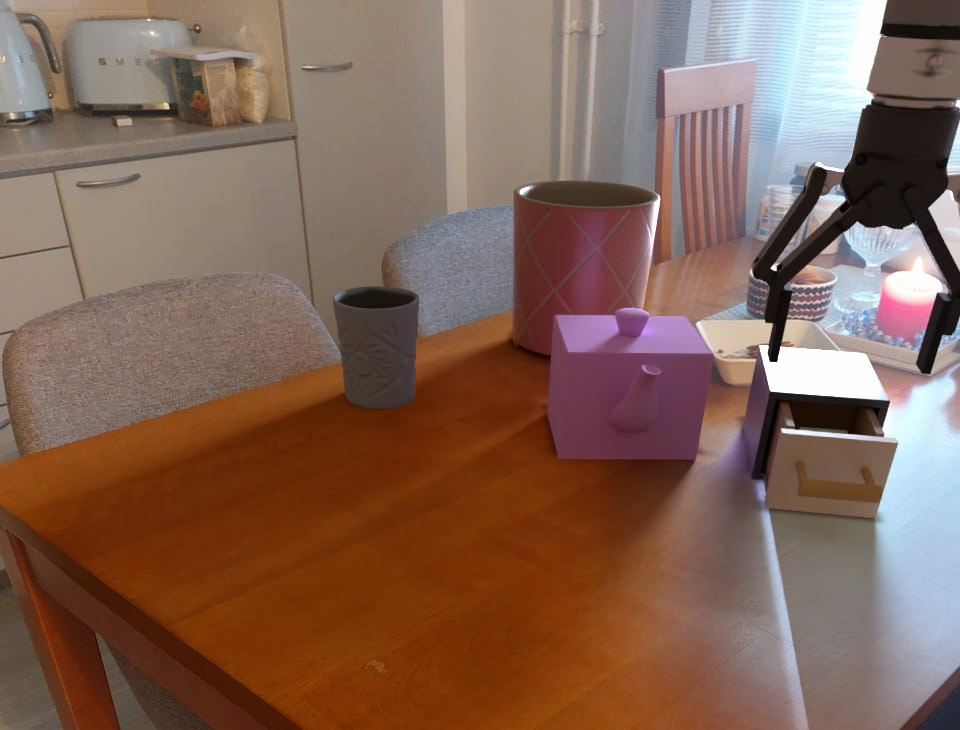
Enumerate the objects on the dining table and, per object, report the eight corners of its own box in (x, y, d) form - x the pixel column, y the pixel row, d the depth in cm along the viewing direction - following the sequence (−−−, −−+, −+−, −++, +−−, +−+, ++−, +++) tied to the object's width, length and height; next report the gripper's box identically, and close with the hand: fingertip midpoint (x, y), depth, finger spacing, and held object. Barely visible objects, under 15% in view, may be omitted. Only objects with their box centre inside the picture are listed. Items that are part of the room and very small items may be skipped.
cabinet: (864, 489, 96) (890, 401, 91) (751, 479, 98) (769, 391, 92) (843, 434, 108) (865, 353, 102) (742, 426, 109) (758, 345, 104)
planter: (480, 345, 131) (483, 191, 119) (561, 317, 143) (571, 175, 131) (589, 379, 121) (604, 214, 109) (666, 345, 133) (688, 194, 121)
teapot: (566, 488, 95) (577, 353, 87) (543, 398, 115) (551, 281, 107) (711, 489, 95) (736, 354, 87) (663, 399, 116) (680, 283, 107)
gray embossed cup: (353, 415, 109) (347, 312, 102) (328, 386, 117) (321, 288, 110) (433, 404, 113) (432, 303, 106) (404, 377, 120) (401, 281, 113)
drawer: (886, 548, 84) (911, 470, 80) (769, 536, 86) (788, 458, 81) (853, 460, 100) (872, 390, 95) (755, 452, 101) (769, 382, 97)
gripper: (757, 100, 72) (712, 366, 85) (1097, 113, 69) (999, 388, 82) (751, 90, 78) (709, 341, 91) (1063, 102, 75) (976, 360, 88)
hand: (846, 363), depth 86 cm, fingers open, 13 cm apart
